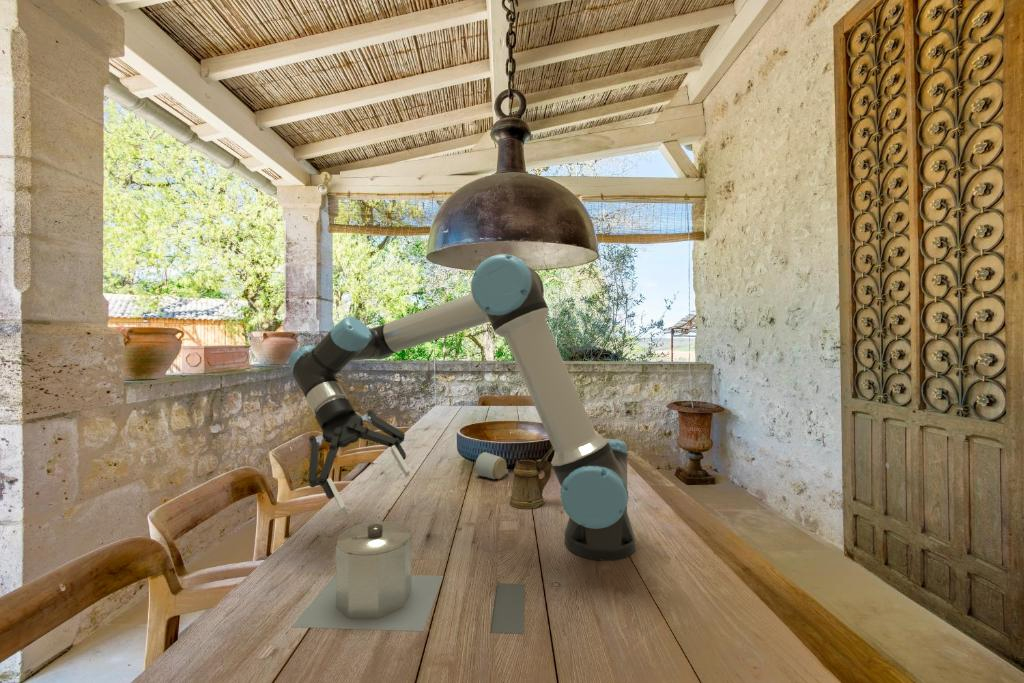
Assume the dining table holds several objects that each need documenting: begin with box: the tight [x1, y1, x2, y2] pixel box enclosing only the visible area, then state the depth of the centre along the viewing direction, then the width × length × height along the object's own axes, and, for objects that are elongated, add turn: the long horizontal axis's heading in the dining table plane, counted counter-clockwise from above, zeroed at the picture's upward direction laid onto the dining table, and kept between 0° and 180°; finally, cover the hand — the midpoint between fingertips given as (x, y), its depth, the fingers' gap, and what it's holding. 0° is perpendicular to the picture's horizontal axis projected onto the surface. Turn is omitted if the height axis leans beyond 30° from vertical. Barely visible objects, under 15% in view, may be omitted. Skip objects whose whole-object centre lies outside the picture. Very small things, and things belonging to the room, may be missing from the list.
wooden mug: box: [509, 445, 554, 510], centre depth 124 cm, size 9×14×18 cm, turn 76°
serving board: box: [291, 573, 444, 633], centre depth 76 cm, size 20×16×1 cm
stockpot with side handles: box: [335, 520, 413, 619], centre depth 76 cm, size 12×12×12 cm
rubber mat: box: [489, 582, 526, 635], centre depth 75 cm, size 14×14×1 cm
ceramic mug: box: [474, 451, 509, 480], centre depth 149 cm, size 11×8×8 cm
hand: (377, 491), depth 90 cm, fingers open, 13 cm apart
